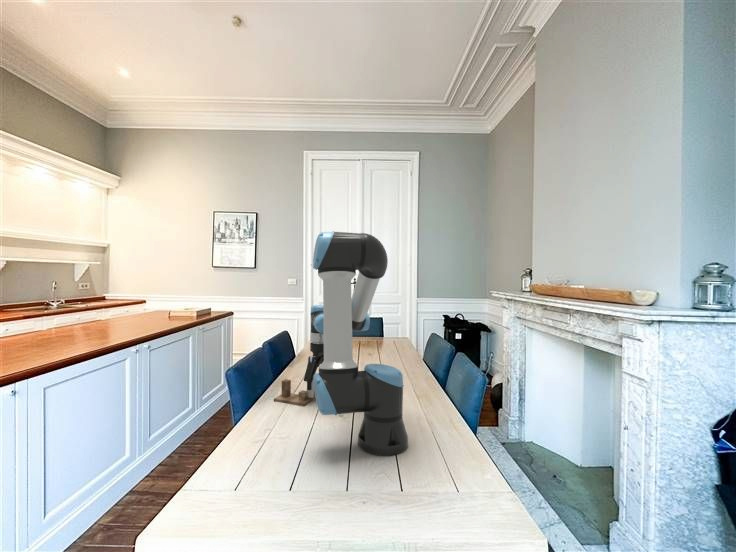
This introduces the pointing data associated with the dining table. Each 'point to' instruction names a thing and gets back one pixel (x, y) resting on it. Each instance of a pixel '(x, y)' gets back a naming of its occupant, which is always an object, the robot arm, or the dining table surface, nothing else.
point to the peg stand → (293, 395)
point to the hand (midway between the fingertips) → (318, 392)
